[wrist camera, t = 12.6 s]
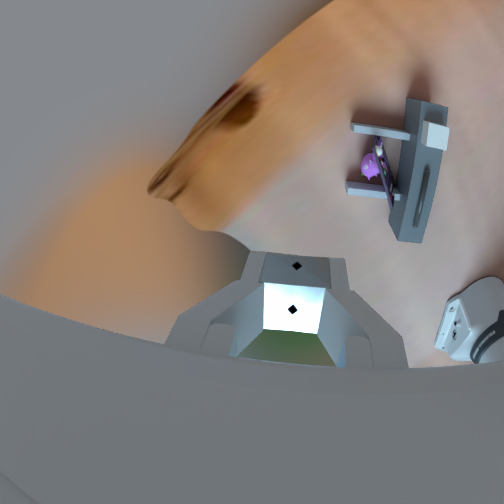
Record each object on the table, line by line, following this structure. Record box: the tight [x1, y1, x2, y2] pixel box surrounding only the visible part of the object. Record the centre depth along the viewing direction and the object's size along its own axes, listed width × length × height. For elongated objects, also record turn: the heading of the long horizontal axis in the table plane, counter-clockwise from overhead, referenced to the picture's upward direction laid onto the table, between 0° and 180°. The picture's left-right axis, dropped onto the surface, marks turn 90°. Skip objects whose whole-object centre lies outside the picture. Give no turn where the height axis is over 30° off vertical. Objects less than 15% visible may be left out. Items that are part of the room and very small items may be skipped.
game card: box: [361, 135, 396, 209], centre depth 37 cm, size 7×5×9 cm
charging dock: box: [345, 98, 450, 243], centre depth 35 cm, size 20×12×8 cm, turn 1°
